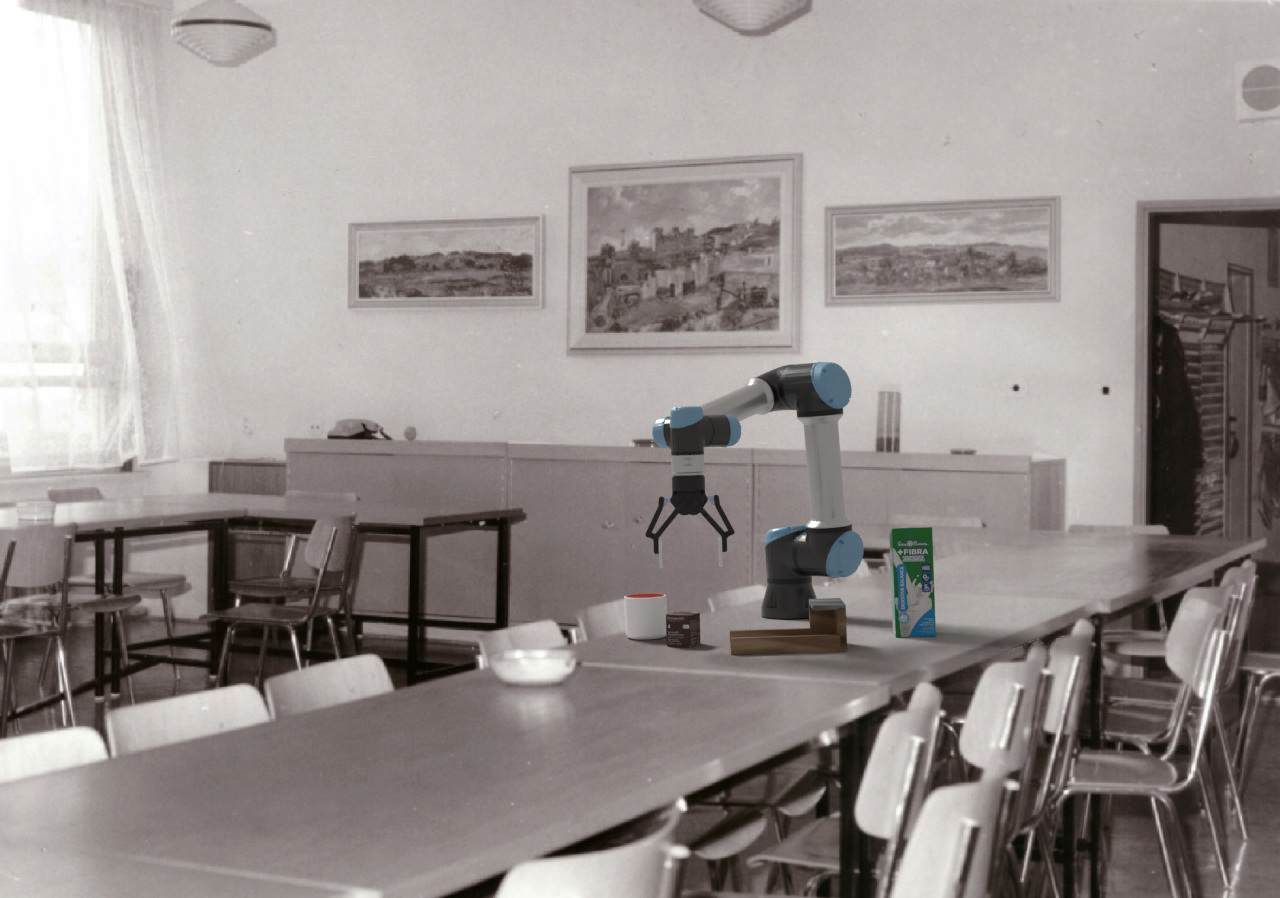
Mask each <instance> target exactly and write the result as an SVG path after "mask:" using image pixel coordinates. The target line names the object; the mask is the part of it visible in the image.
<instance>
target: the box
mask: <svg viewBox="0 0 1280 898" xmlns="http://www.w3.org/2000/svg"><path fill="white" fill-rule="evenodd" d="M700 644H701V613H700V612H698V611H697V612H695V611H694V612H693V611H679V610H677V611H676V610H675V611H674V612H671V613H667V614H666V647H677V648H692V647H695V646H697V645H700Z"/></svg>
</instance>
